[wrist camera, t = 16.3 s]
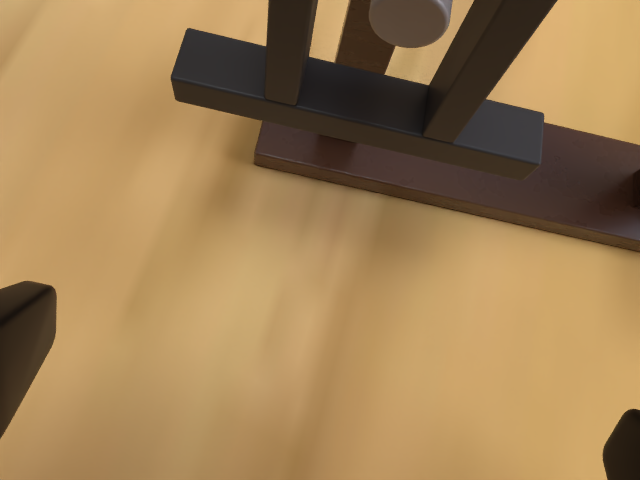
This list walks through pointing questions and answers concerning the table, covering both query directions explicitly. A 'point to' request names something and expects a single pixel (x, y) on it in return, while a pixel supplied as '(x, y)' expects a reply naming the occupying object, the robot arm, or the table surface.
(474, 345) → the table surface
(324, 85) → the black piece
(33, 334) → the robot arm
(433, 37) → the rack
